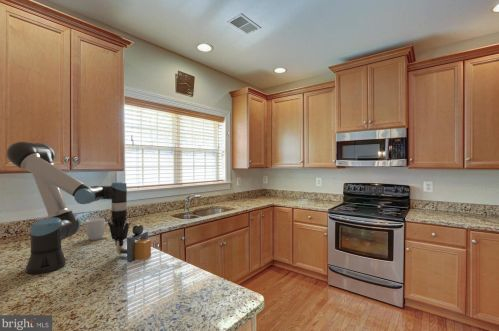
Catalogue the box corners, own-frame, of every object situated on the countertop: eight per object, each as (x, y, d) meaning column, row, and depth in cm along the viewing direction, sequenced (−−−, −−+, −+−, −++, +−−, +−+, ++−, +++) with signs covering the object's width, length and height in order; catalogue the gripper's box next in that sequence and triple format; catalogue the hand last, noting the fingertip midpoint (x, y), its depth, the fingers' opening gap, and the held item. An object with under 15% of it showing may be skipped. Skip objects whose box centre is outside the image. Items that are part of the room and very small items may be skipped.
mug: (109, 234, 178) (109, 216, 178) (112, 238, 170) (112, 219, 169) (85, 238, 169) (85, 219, 169) (86, 242, 160) (87, 222, 160)
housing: (131, 262, 128) (131, 228, 128) (126, 261, 129) (126, 228, 129) (147, 252, 142) (147, 222, 142) (143, 252, 143) (143, 222, 143)
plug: (116, 257, 134) (116, 241, 134) (123, 253, 140) (124, 237, 140) (144, 259, 131) (144, 242, 131) (150, 255, 137) (151, 239, 137)
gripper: (133, 208, 140) (134, 250, 140) (113, 208, 142) (114, 248, 143) (125, 211, 133) (125, 254, 133) (104, 210, 135) (104, 253, 135)
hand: (119, 251), depth 138 cm, fingers closed
